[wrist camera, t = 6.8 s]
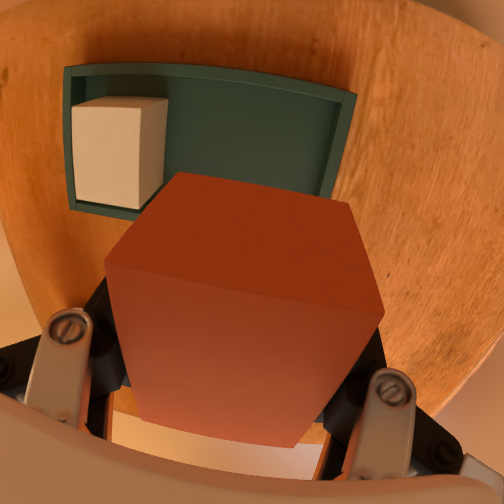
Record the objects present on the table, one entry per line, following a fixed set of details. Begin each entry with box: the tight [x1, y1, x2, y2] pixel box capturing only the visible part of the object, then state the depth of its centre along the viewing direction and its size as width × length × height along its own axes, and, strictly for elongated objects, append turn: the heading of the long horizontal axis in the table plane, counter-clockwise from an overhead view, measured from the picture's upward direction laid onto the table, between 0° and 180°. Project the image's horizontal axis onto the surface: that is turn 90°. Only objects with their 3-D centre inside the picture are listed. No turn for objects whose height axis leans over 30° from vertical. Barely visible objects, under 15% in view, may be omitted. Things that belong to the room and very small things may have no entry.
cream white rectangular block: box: [72, 96, 169, 209], centre depth 19 cm, size 5×6×4 cm
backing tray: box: [63, 62, 357, 221], centre depth 20 cm, size 20×12×3 cm, turn 81°
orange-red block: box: [104, 172, 385, 448], centre depth 9 cm, size 5×6×4 cm
